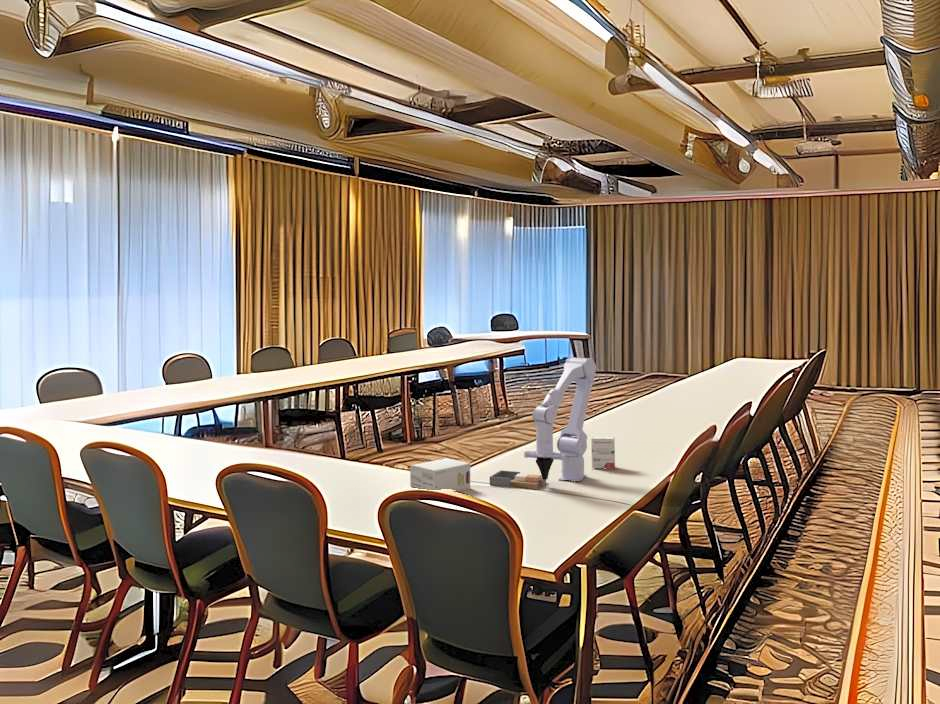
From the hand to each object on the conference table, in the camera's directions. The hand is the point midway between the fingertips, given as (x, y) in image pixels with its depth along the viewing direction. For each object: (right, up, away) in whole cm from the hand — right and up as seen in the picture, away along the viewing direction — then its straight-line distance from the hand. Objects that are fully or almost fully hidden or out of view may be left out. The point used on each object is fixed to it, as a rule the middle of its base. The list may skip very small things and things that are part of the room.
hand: (544, 479), depth 298 cm
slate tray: (-14, -2, +7) cm, 16 cm away
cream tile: (-8, -1, +4) cm, 9 cm away
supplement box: (-36, -4, -1) cm, 36 cm away
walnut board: (-6, -3, +3) cm, 7 cm away
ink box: (+25, 0, +28) cm, 37 cm away
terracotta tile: (-4, -1, +2) cm, 4 cm away
